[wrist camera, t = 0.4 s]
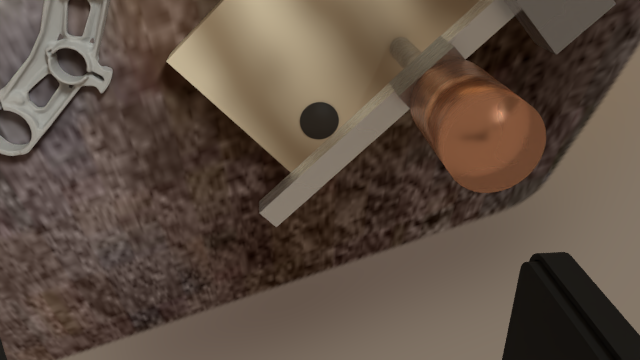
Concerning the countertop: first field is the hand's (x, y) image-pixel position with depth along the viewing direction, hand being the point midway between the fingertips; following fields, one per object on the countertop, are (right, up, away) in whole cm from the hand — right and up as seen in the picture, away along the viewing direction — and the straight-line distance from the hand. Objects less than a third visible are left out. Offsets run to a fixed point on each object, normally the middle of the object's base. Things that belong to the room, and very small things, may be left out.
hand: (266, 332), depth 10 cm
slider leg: (+5, +12, +25) cm, 28 cm away
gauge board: (+3, +14, +27) cm, 30 cm away
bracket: (-16, +11, +26) cm, 33 cm away
